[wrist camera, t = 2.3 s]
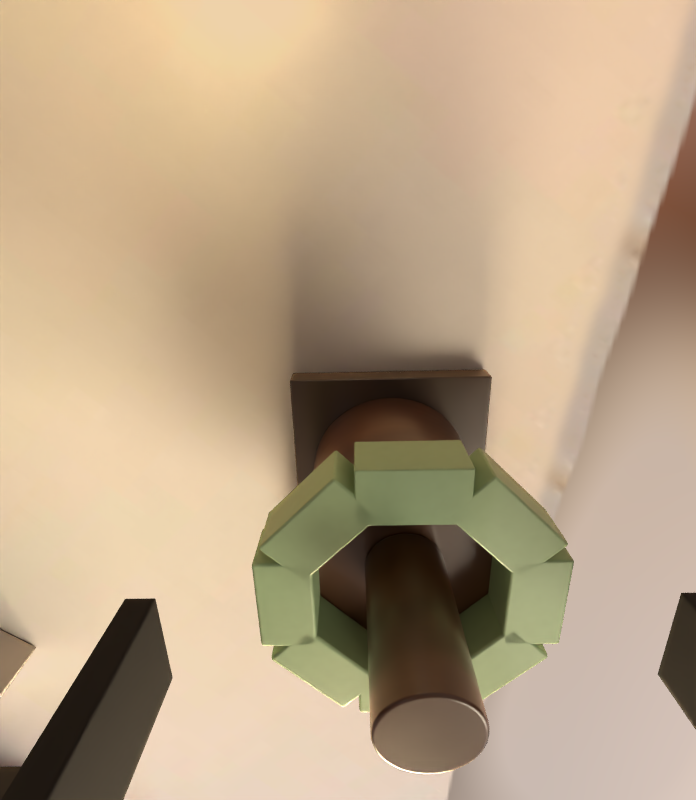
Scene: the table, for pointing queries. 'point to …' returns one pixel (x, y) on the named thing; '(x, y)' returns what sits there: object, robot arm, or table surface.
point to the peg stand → (405, 561)
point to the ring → (409, 505)
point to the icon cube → (11, 658)
